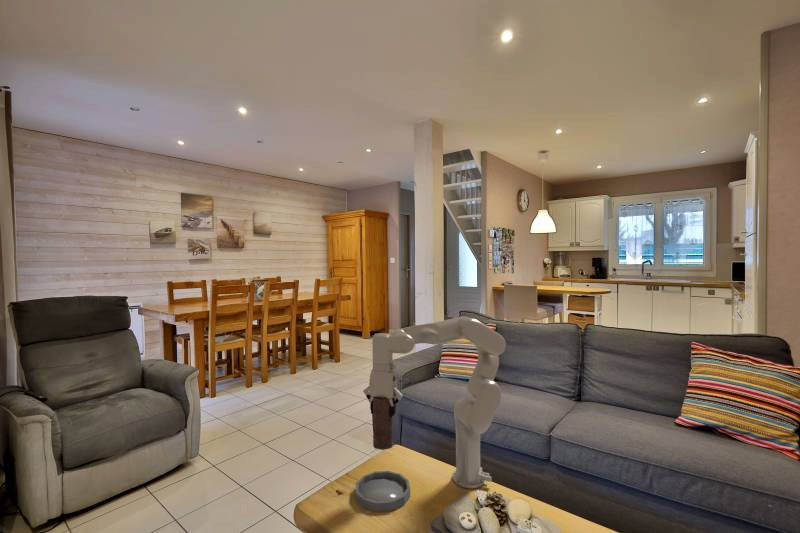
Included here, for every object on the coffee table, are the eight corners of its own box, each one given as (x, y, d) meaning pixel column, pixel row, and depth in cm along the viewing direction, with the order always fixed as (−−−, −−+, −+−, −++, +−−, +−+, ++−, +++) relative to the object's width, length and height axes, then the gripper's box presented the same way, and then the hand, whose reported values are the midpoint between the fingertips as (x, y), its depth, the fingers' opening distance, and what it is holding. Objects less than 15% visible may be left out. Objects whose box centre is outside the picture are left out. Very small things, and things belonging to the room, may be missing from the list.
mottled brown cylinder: (390, 454, 131) (389, 398, 131) (370, 452, 132) (370, 397, 133) (394, 444, 138) (394, 391, 139) (376, 442, 140) (375, 390, 140)
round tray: (417, 485, 140) (417, 477, 140) (395, 517, 122) (395, 508, 122) (372, 474, 148) (372, 466, 148) (345, 502, 130) (345, 494, 130)
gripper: (407, 366, 136) (408, 414, 135) (367, 362, 143) (367, 407, 143) (399, 371, 129) (399, 421, 129) (357, 366, 136) (357, 414, 136)
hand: (382, 413), depth 136 cm, fingers closed on mottled brown cylinder, 7 cm apart
